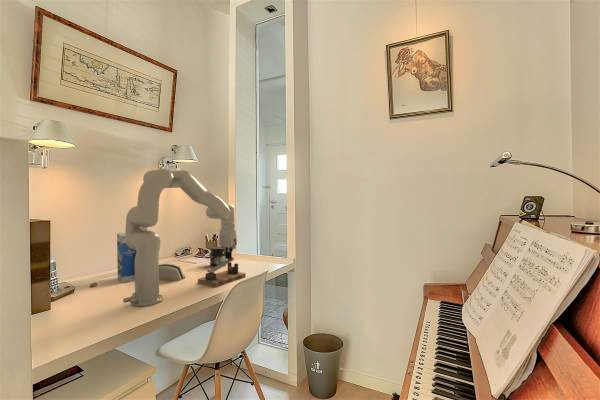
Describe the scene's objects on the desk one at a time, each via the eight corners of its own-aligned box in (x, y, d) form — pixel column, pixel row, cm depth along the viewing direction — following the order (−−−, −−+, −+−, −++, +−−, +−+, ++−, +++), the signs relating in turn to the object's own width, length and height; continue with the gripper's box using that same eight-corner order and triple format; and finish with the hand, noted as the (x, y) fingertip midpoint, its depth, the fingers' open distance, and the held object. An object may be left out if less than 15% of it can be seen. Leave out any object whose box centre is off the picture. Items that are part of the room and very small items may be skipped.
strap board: (215, 287, 150) (215, 272, 150) (197, 282, 158) (197, 268, 158) (245, 276, 169) (245, 263, 169) (228, 273, 176) (228, 260, 176)
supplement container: (213, 263, 201) (212, 246, 201) (228, 263, 201) (228, 246, 200) (207, 267, 191) (207, 249, 190) (223, 267, 190) (223, 249, 190)
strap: (212, 273, 155) (212, 270, 155) (207, 272, 157) (206, 269, 157) (235, 260, 169) (234, 257, 168) (230, 259, 171) (229, 256, 170)
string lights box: (117, 278, 167) (116, 233, 167) (132, 275, 172) (131, 232, 172) (122, 283, 157) (121, 235, 157) (137, 280, 162) (137, 234, 162)
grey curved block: (186, 277, 167) (182, 262, 164) (181, 282, 163) (177, 267, 159) (160, 276, 171) (156, 261, 167) (155, 281, 166) (150, 266, 163)
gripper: (213, 226, 167) (214, 258, 168) (232, 228, 159) (233, 261, 160) (223, 225, 174) (224, 255, 174) (242, 226, 166) (243, 258, 166)
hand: (228, 258), depth 167 cm, fingers closed
